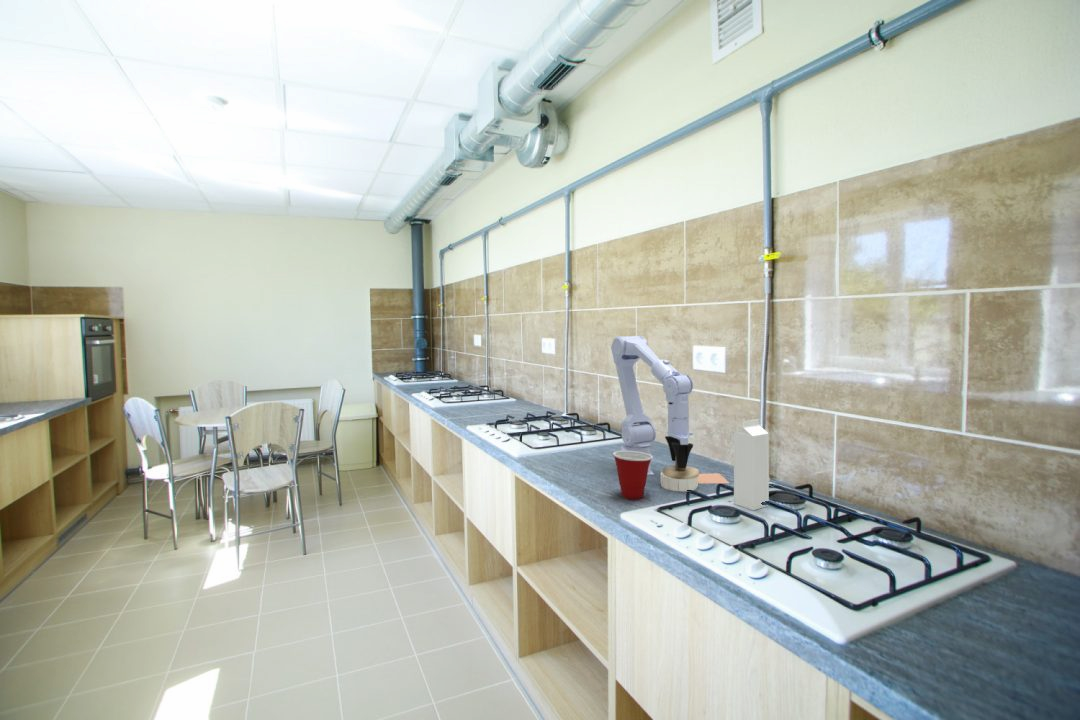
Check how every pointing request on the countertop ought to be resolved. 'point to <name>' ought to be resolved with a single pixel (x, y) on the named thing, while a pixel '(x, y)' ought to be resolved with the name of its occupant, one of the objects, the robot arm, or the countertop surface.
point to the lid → (680, 472)
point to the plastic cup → (632, 472)
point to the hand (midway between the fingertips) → (678, 464)
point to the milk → (751, 465)
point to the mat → (711, 478)
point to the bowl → (678, 483)
